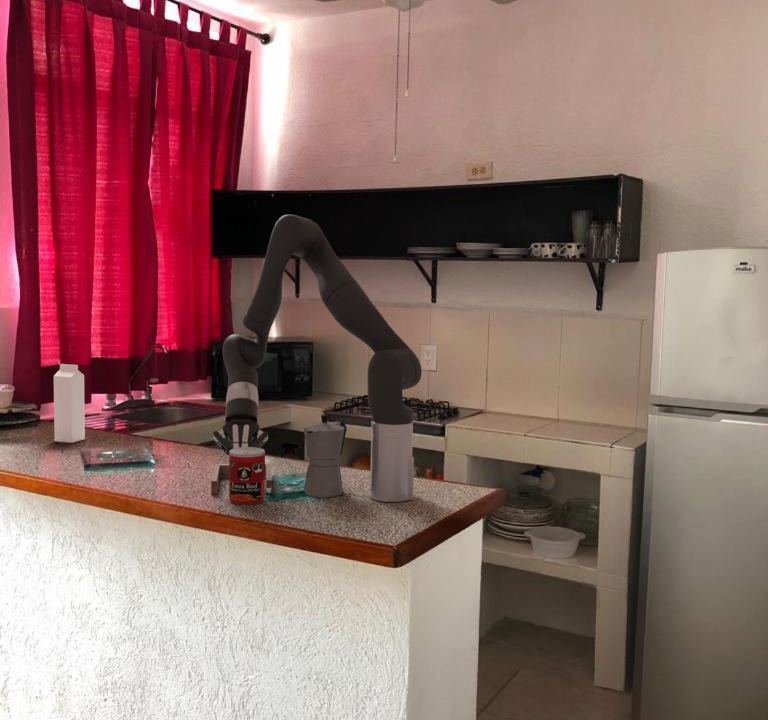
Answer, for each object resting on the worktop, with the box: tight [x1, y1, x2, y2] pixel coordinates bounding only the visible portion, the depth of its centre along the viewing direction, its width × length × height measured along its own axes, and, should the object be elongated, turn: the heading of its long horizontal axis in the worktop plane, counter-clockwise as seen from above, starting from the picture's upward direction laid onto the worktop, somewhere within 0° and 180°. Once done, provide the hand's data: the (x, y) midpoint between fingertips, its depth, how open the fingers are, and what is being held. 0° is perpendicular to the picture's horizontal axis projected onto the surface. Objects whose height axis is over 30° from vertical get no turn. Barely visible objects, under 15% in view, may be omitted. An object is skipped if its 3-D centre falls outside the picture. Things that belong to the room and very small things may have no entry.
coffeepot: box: [303, 413, 347, 498], centre depth 197 cm, size 15×9×18 cm, turn 150°
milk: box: [53, 363, 86, 444], centre depth 249 cm, size 6×6×22 cm
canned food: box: [228, 446, 266, 505], centre depth 188 cm, size 8×8×11 cm
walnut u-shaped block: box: [210, 463, 273, 495], centre depth 202 cm, size 13×17×3 cm
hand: (239, 469), depth 192 cm, fingers closed
